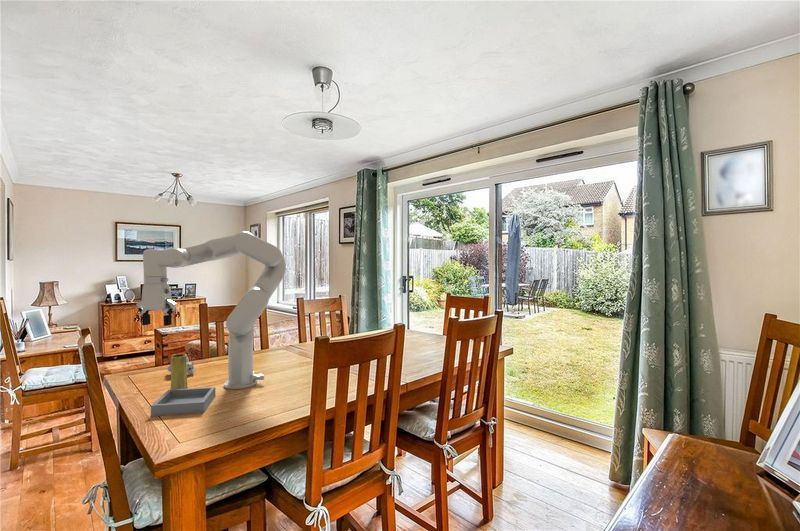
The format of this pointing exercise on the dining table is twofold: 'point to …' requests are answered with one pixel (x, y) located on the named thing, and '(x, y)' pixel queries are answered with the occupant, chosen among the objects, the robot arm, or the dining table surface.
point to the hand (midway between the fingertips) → (157, 325)
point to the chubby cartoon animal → (189, 367)
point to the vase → (179, 371)
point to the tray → (183, 401)
